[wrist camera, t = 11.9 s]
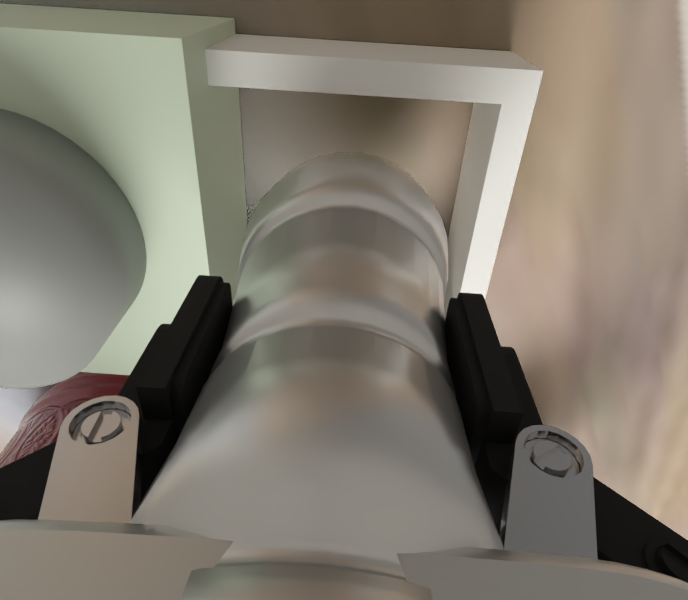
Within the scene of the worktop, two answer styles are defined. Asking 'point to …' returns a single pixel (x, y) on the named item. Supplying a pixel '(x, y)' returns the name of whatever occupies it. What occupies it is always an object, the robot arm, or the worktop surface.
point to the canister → (57, 411)
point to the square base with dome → (188, 166)
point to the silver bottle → (329, 400)
